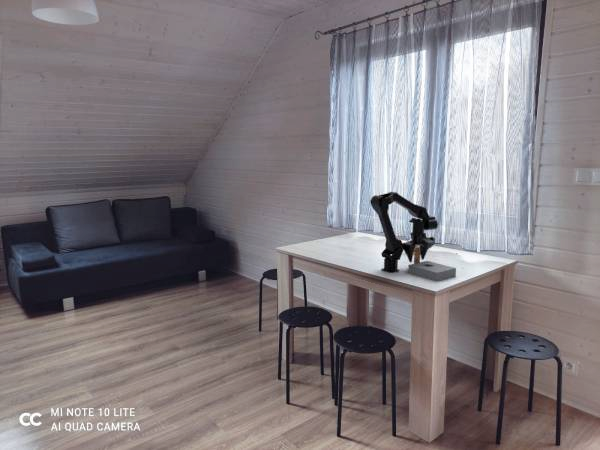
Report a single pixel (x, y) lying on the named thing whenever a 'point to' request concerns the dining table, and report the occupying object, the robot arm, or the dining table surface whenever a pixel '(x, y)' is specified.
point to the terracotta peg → (417, 255)
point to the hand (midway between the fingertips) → (416, 260)
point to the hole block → (432, 270)
